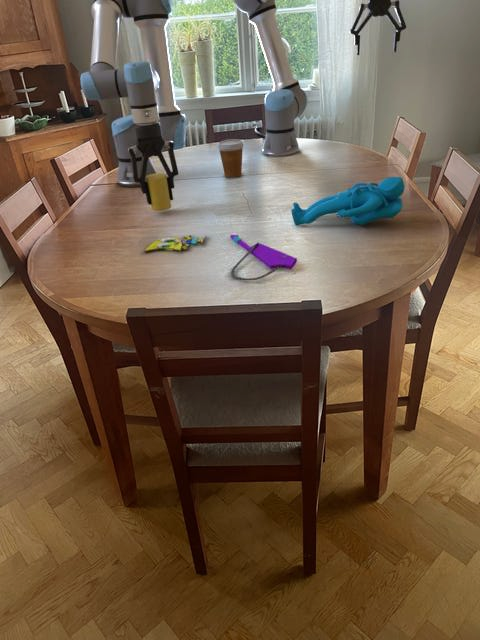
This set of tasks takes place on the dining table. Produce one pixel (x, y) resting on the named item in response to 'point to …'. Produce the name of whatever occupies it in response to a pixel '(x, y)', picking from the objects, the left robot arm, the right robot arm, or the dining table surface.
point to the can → (158, 191)
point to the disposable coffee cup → (231, 156)
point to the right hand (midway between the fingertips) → (376, 53)
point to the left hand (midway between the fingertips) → (160, 200)
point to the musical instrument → (264, 257)
